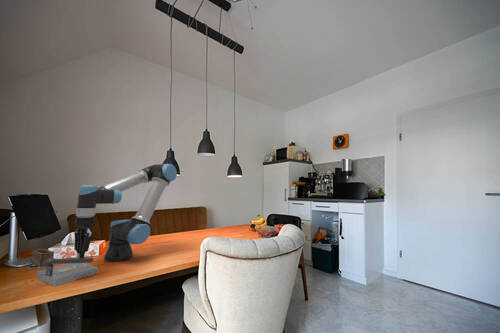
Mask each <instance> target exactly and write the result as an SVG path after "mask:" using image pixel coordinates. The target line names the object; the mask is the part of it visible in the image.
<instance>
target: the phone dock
mask: <svg viewBox="0 0 500 333" xmlns="http://www.w3.org/2000/svg"><path fill="white" fill-rule="evenodd" d="M54 254H55V252H54V251H53V250H49V249H45V248H42V249H36V250H34V249H33V250H31V255H30V262H31V263H32V264H34V265H36V266H38V267H44V266H47V265H45V264H46V260H47V259H51V258H54V256H55V255H54ZM32 264H30V266H31V265H32Z"/></svg>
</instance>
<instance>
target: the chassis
mask: <svg viewBox="0 0 500 333" xmlns="http://www.w3.org/2000/svg"><path fill="white" fill-rule="evenodd" d="M54 265H55V264H52V265H47V266H46V268H44V269H42V270H41V269H40V270H37V272H36V277H35V278H36V279H38V280H40V281H43V282H44V283H47V284H49V285H51V286H53V287H58V286H61V285H64V284H65V285H66V284H68V283H71V282H74V280H75V281H77V280H76V279H78V280H80V279H79V278H81V279H83V278H82V277H85V278H87V277H86V276H88V277H90V275H91V276H94V275H97V274H98V272H99V267H97V266H95V265H91V264H90V263H83V266H81V267H77V268H76V267H75V265H76V263H65V264H61V265H59V266H54ZM96 273H97V274H96ZM93 274H94V275H93Z"/></svg>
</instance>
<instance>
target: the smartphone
mask: <svg viewBox="0 0 500 333" xmlns="http://www.w3.org/2000/svg"><path fill="white" fill-rule="evenodd" d="M41 269H42V270H43V269H46V266H44V267H38V266H36V265H34V264H32V265H31V264H30V266H29V267H27V268H25V271H32V270H41Z"/></svg>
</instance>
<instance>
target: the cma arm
mask: <svg viewBox="0 0 500 333" xmlns="http://www.w3.org/2000/svg"><path fill="white" fill-rule="evenodd" d="M93 262H94V257H84V258H54V257H53V258H51V259H47V260H46V264H45V265H52V264H54V265H56V264H57V265H58V264H59V265H60V264H61V265H66V264H70V263H86V264H90V263H93Z"/></svg>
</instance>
